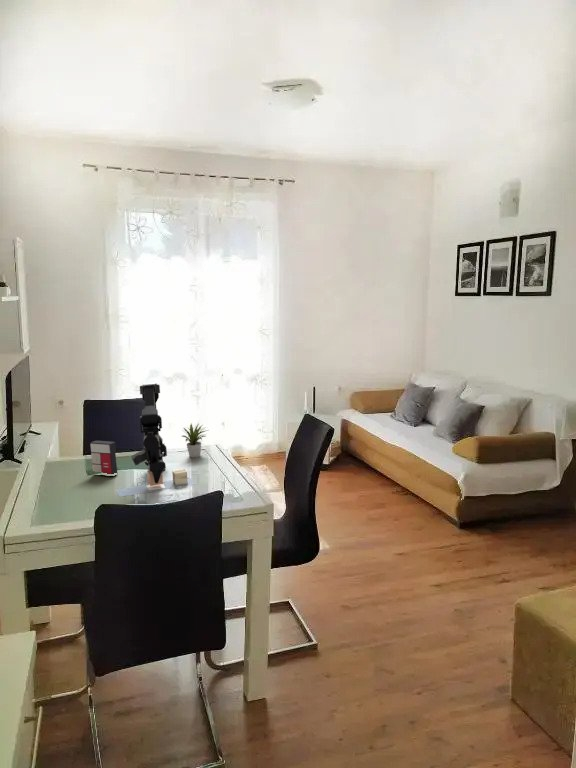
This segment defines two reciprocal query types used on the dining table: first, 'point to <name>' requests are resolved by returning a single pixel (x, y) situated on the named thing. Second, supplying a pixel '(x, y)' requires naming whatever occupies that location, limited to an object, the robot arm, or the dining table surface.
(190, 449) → the house plant
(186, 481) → the beech block
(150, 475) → the terracotta block
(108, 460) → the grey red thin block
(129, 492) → the baseplate
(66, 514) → the dining table surface
